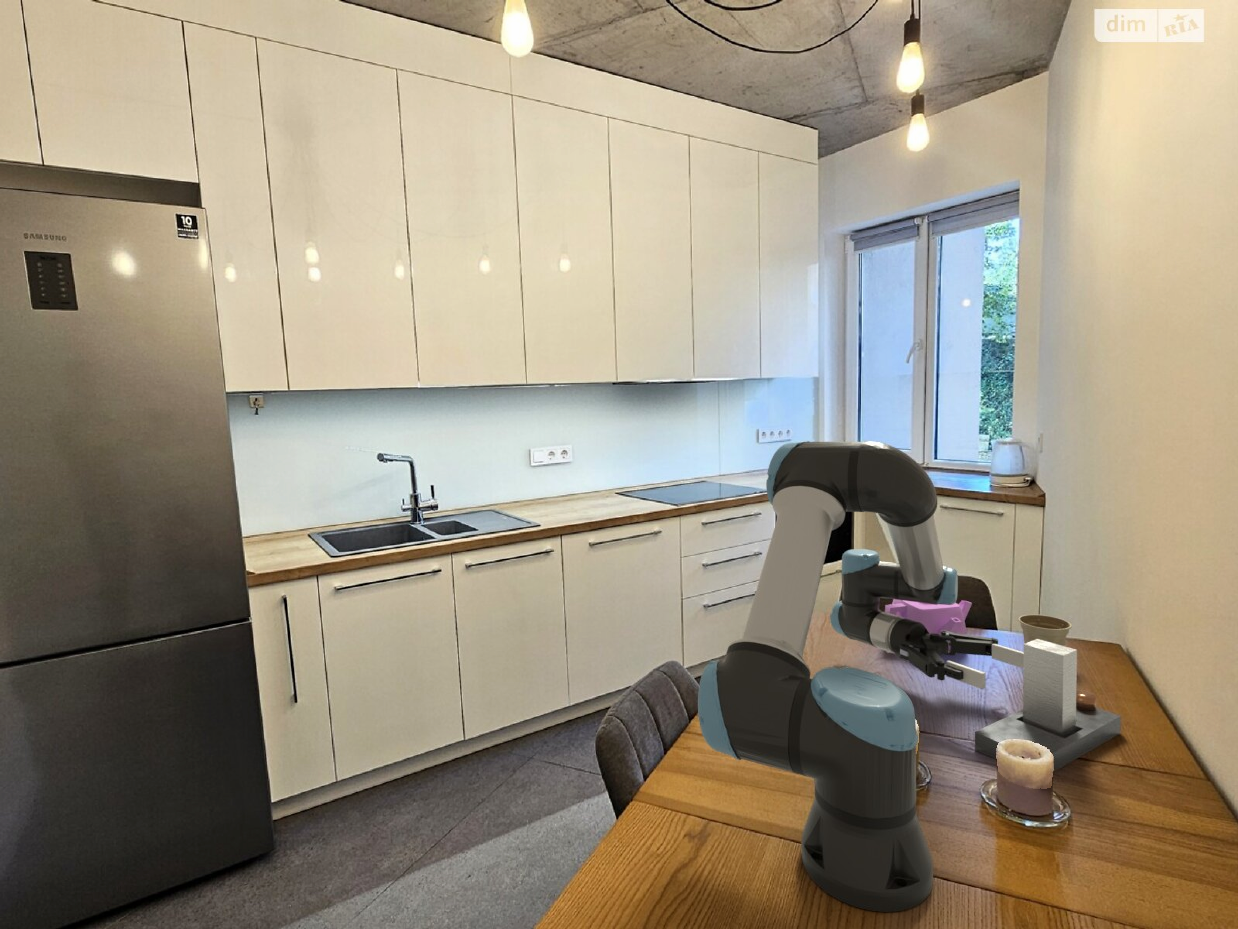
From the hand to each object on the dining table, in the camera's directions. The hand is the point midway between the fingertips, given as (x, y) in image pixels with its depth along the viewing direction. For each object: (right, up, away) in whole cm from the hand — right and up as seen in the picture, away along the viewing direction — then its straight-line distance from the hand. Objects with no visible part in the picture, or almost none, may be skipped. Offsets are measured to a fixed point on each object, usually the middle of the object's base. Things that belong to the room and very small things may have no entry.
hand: (1007, 671), depth 111 cm
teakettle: (+5, -6, +38) cm, 39 cm away
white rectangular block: (+3, -10, -5) cm, 12 cm away
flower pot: (+23, -6, +26) cm, 35 cm away
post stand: (+3, -10, -5) cm, 12 cm away
